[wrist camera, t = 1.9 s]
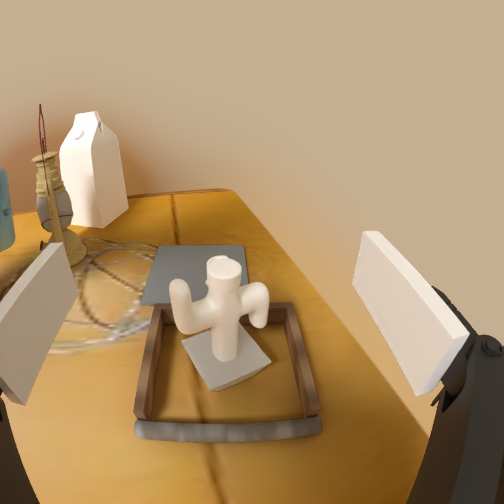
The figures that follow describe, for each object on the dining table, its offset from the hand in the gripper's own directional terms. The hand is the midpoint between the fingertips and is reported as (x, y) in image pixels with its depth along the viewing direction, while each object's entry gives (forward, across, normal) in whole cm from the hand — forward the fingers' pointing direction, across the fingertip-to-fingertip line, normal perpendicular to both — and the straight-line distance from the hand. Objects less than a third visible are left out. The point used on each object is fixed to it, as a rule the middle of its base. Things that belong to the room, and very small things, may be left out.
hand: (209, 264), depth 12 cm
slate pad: (+30, -4, -20) cm, 36 cm away
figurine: (+11, 0, -21) cm, 24 cm away
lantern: (+35, -32, -19) cm, 51 cm away
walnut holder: (+11, 0, -21) cm, 24 cm away
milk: (+54, -31, -18) cm, 65 cm away
